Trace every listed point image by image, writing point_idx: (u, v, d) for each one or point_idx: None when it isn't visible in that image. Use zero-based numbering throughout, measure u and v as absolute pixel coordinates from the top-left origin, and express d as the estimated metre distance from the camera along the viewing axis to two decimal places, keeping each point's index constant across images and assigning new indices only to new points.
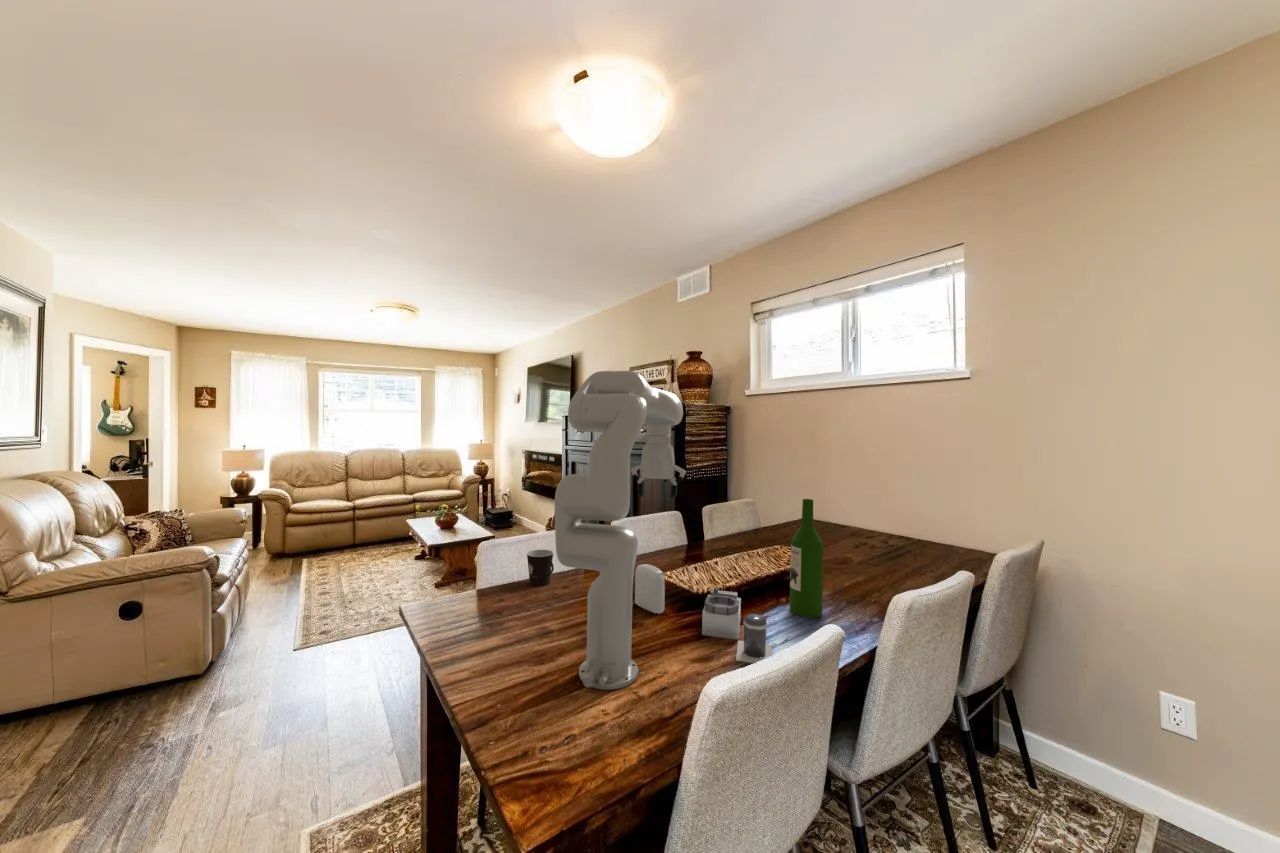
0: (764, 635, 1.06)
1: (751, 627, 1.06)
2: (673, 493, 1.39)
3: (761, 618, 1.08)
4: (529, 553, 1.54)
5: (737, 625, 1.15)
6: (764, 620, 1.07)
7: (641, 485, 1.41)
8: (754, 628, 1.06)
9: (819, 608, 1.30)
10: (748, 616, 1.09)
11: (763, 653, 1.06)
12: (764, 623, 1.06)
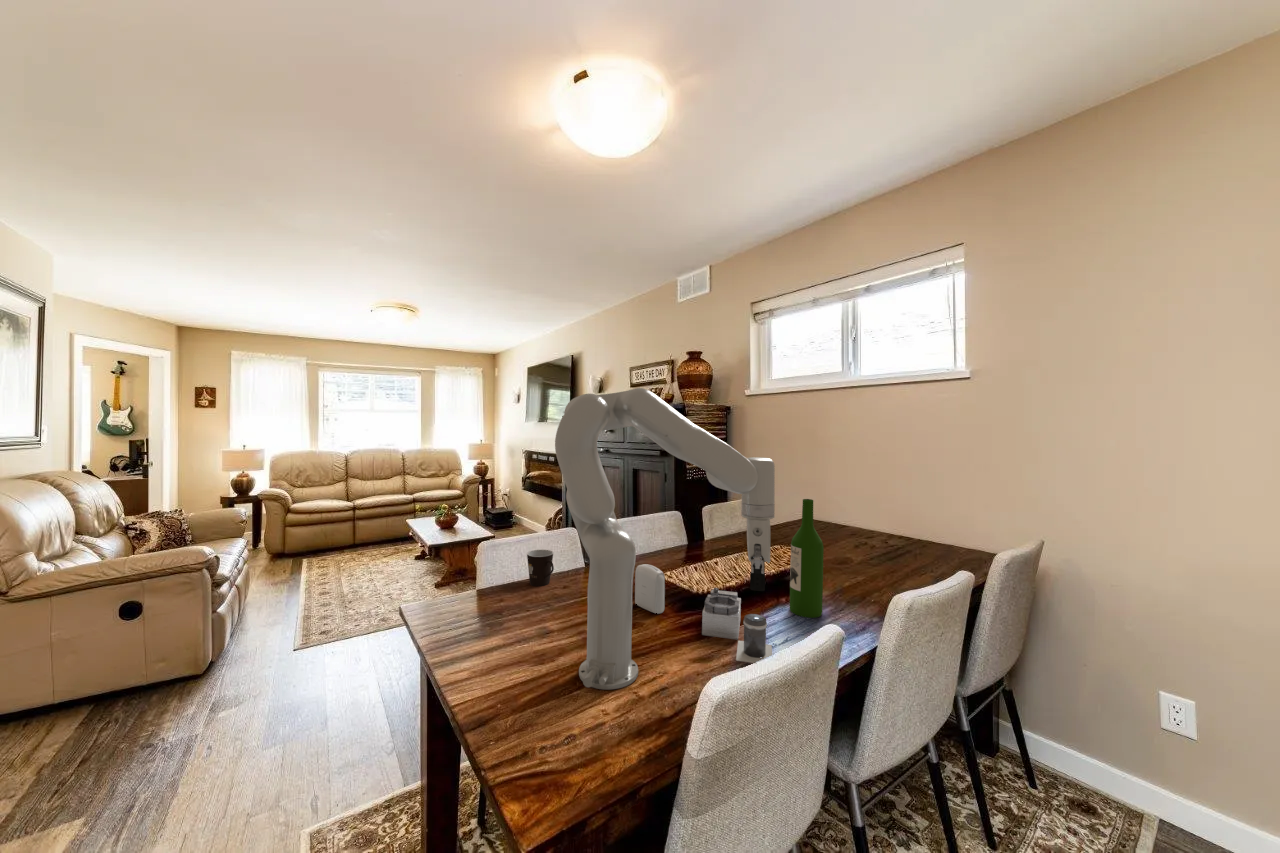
0: (764, 635, 1.06)
1: (751, 627, 1.06)
2: None
3: (761, 618, 1.08)
4: (529, 553, 1.54)
5: (737, 625, 1.15)
6: (764, 620, 1.07)
7: None
8: (754, 628, 1.06)
9: (819, 608, 1.30)
10: (748, 616, 1.09)
11: (763, 653, 1.06)
12: (764, 623, 1.06)
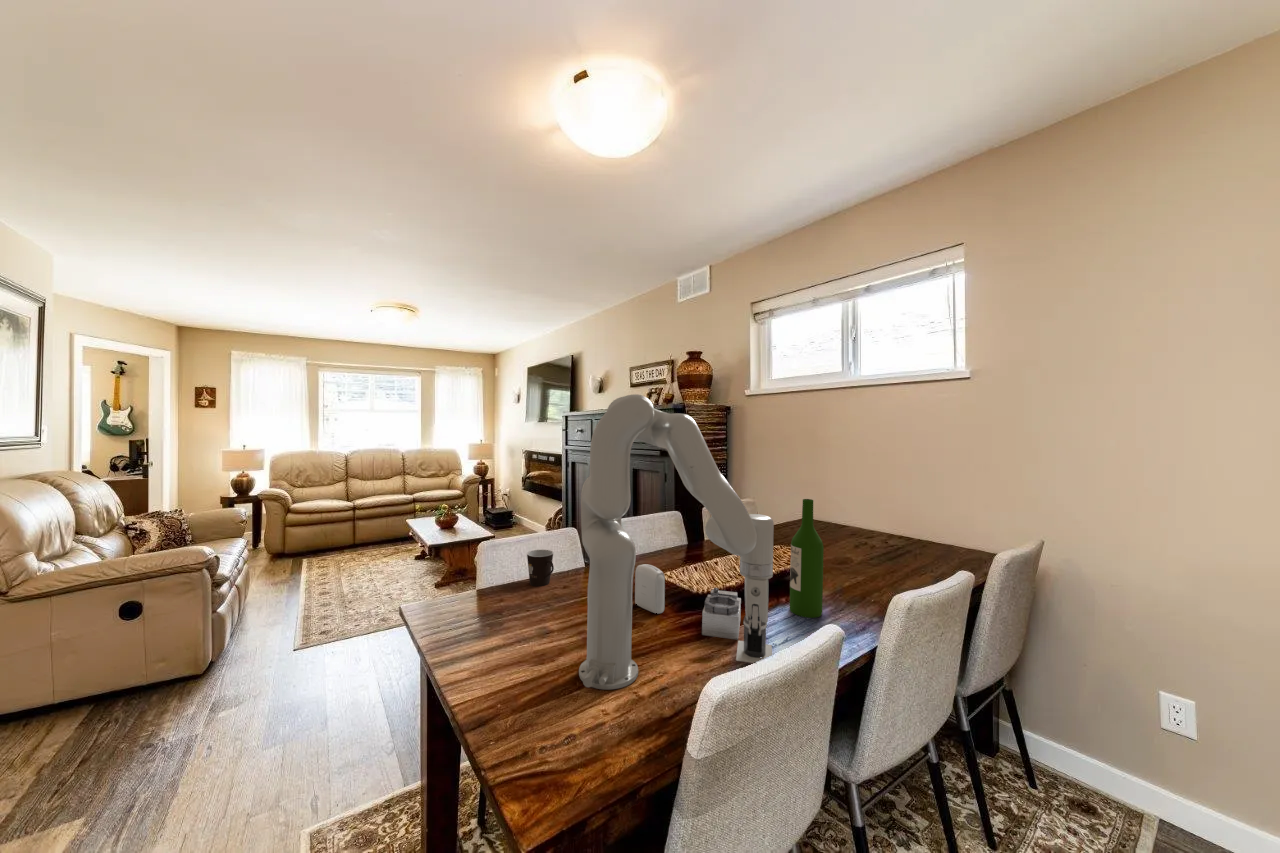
0: (764, 635, 1.06)
1: None
2: None
3: None
4: (529, 553, 1.54)
5: (737, 625, 1.15)
6: None
7: None
8: None
9: (819, 608, 1.30)
10: None
11: (763, 653, 1.06)
12: (764, 623, 1.06)
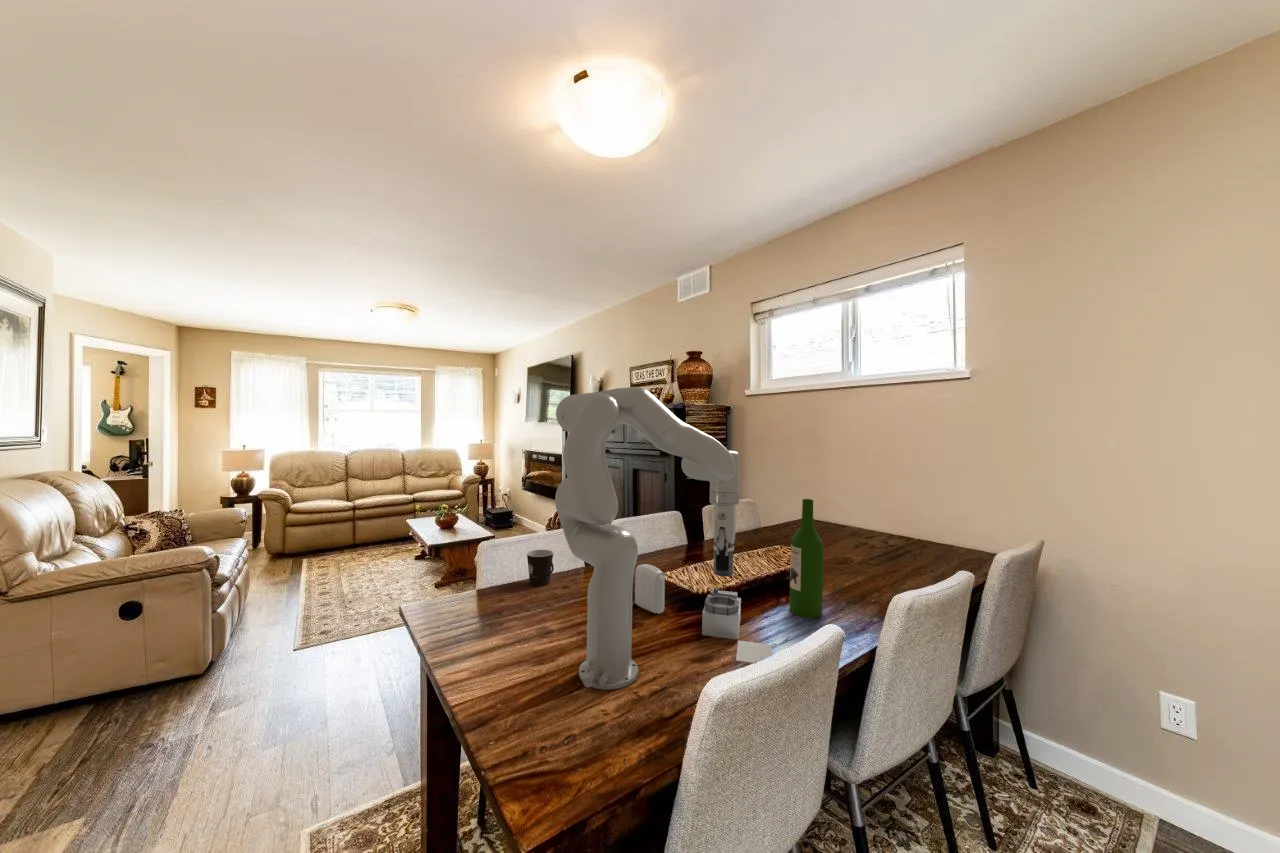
0: (731, 557, 1.19)
1: None
2: None
3: None
4: (529, 553, 1.54)
5: (737, 625, 1.15)
6: None
7: None
8: None
9: (819, 608, 1.30)
10: None
11: (730, 573, 1.19)
12: (731, 546, 1.19)
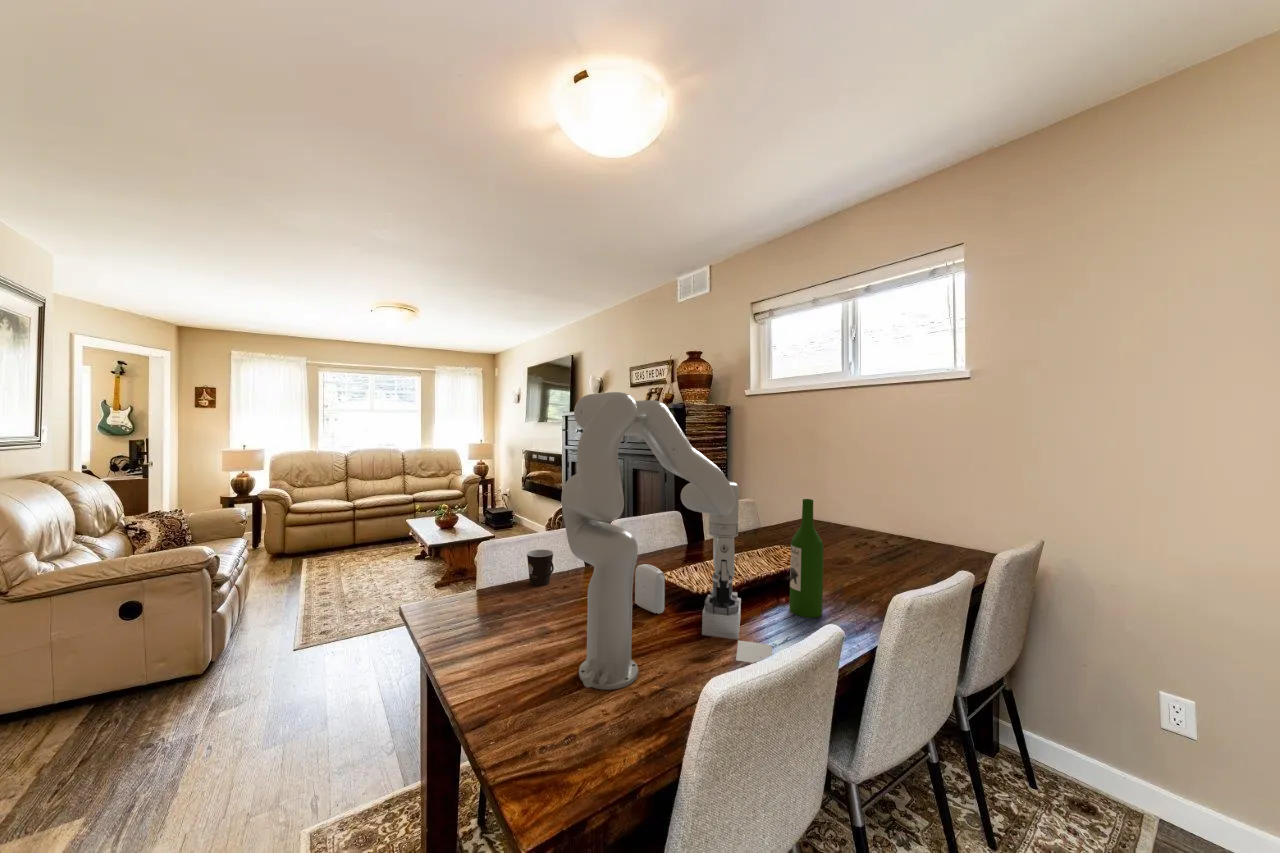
0: (731, 588, 1.19)
1: None
2: None
3: None
4: (529, 553, 1.54)
5: (737, 625, 1.15)
6: (731, 575, 1.20)
7: None
8: None
9: (819, 608, 1.30)
10: None
11: (730, 604, 1.19)
12: (731, 577, 1.19)
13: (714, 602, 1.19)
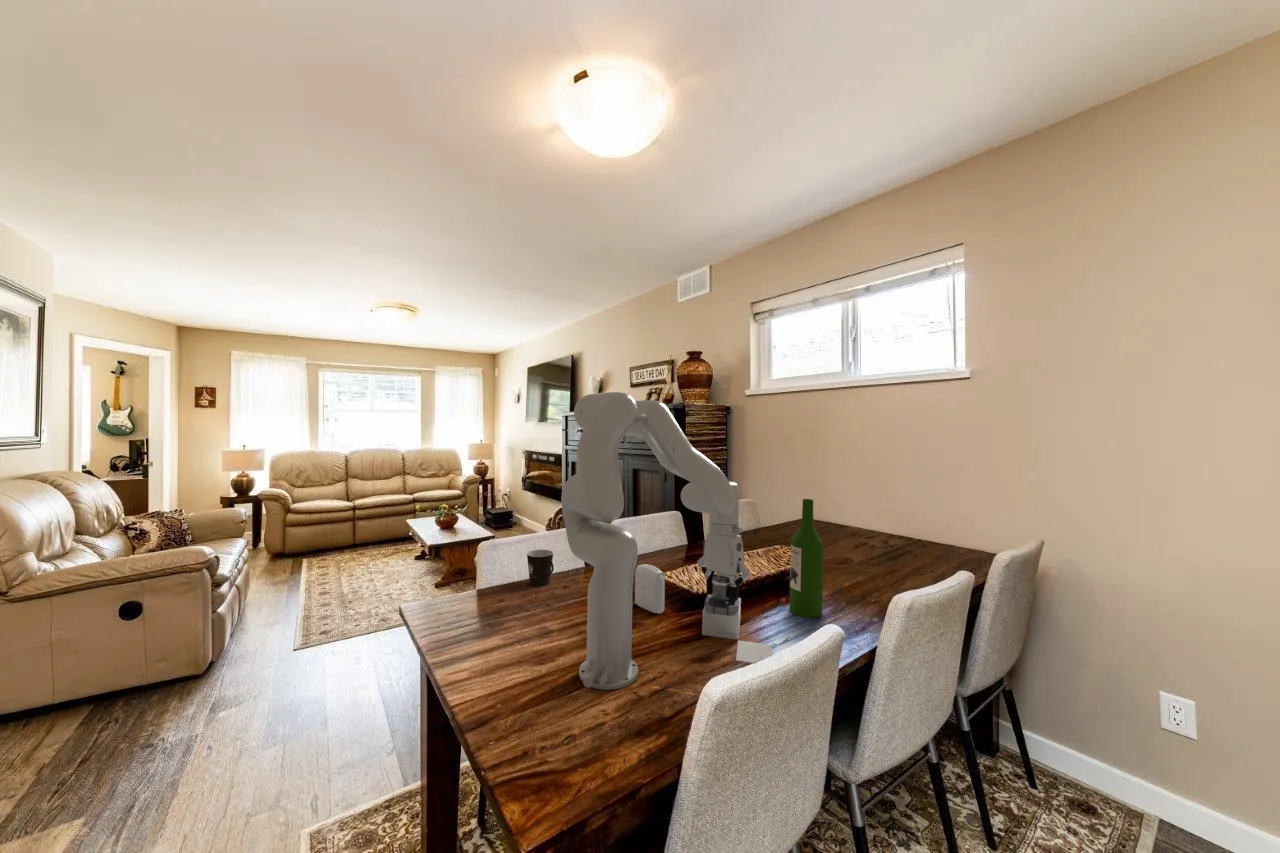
0: None
1: (728, 584, 1.18)
2: None
3: None
4: (529, 553, 1.54)
5: (737, 625, 1.15)
6: None
7: None
8: (730, 584, 1.19)
9: (819, 608, 1.30)
10: (718, 577, 1.19)
11: None
12: None
13: None
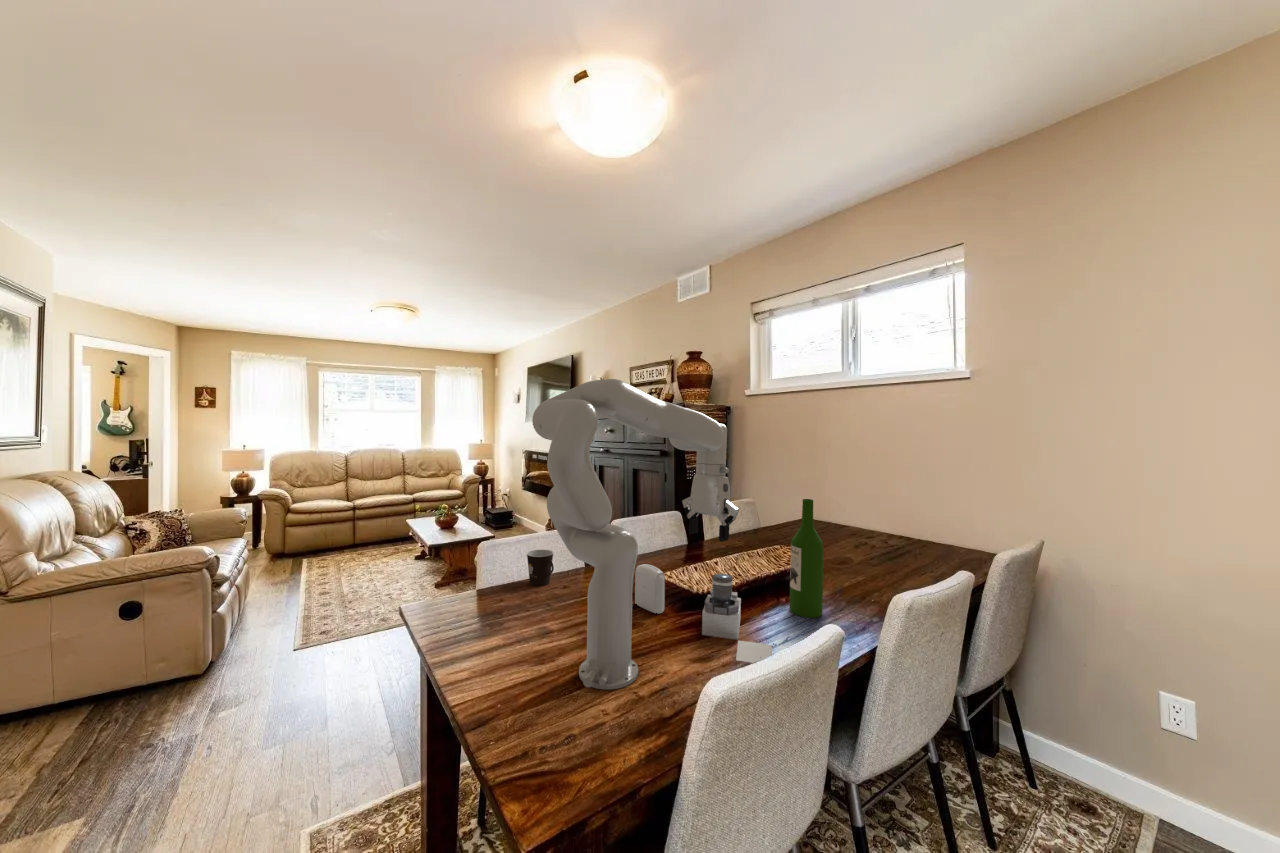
0: None
1: (728, 584, 1.18)
2: None
3: (725, 574, 1.21)
4: (529, 553, 1.54)
5: (737, 625, 1.15)
6: (728, 575, 1.22)
7: None
8: (730, 584, 1.19)
9: (819, 608, 1.30)
10: (718, 577, 1.19)
11: None
12: None
13: None
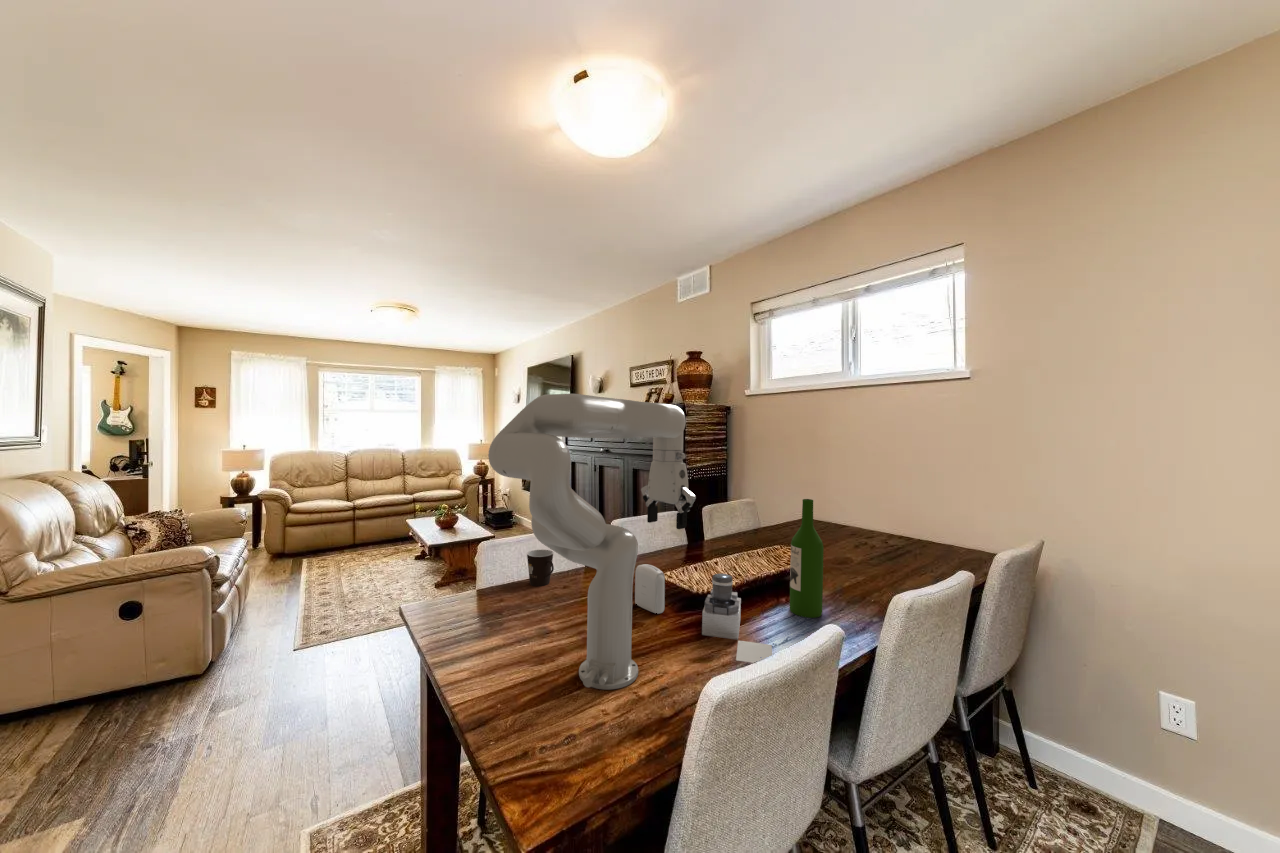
0: None
1: (728, 584, 1.18)
2: None
3: (726, 574, 1.21)
4: (529, 553, 1.54)
5: (737, 625, 1.15)
6: (728, 575, 1.22)
7: None
8: (730, 584, 1.19)
9: (819, 608, 1.30)
10: (718, 577, 1.19)
11: None
12: None
13: None
